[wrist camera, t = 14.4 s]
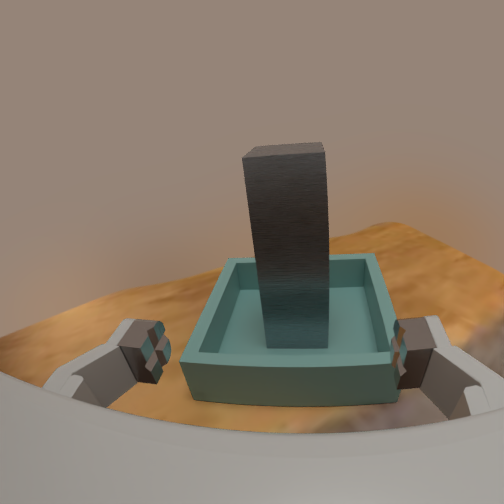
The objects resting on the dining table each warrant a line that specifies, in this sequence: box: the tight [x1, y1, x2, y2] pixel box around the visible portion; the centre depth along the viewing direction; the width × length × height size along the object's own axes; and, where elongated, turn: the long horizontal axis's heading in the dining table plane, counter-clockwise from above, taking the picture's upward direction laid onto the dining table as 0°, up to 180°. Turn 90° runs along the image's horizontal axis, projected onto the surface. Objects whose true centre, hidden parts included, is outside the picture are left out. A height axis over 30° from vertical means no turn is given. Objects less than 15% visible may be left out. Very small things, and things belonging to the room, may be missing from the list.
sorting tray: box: [179, 253, 401, 407], centre depth 25 cm, size 14×14×4 cm
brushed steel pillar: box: [242, 142, 329, 349], centre depth 22 cm, size 5×5×14 cm
